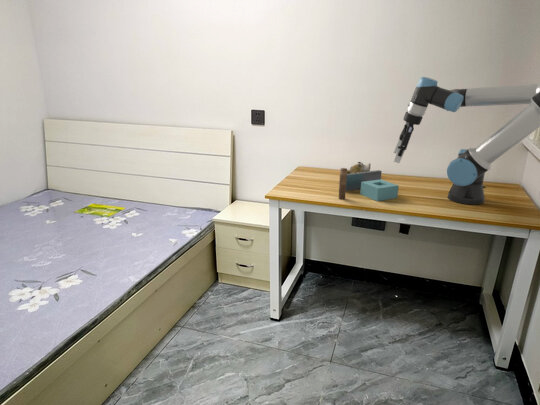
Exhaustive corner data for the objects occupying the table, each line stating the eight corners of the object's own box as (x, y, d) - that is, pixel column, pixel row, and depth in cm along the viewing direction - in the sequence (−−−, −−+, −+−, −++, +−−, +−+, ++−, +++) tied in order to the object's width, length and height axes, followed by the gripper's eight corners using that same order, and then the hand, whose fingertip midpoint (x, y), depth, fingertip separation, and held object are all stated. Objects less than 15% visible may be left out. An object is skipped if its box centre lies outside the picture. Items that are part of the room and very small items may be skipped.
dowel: (346, 198, 181) (348, 169, 177) (341, 199, 180) (343, 169, 175) (342, 197, 184) (344, 167, 179) (337, 197, 182) (339, 168, 178)
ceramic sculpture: (375, 162, 215) (350, 165, 212) (374, 177, 218) (349, 180, 214) (365, 158, 225) (341, 161, 221) (365, 173, 227) (341, 176, 224)
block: (397, 197, 183) (398, 185, 181) (376, 201, 178) (378, 188, 176) (380, 191, 193) (381, 179, 191) (360, 194, 188) (361, 181, 187)
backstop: (380, 186, 202) (381, 170, 199) (341, 191, 192) (342, 175, 189) (377, 185, 203) (379, 170, 201) (338, 190, 194) (339, 174, 191)
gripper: (405, 105, 184) (388, 147, 194) (407, 117, 162) (388, 163, 172) (421, 110, 183) (403, 152, 193) (425, 122, 161) (404, 168, 171)
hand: (396, 157), depth 182 cm, fingers open, 13 cm apart
